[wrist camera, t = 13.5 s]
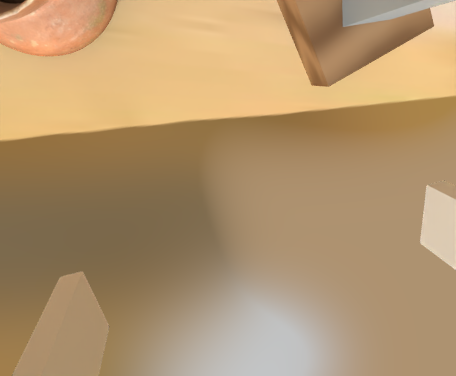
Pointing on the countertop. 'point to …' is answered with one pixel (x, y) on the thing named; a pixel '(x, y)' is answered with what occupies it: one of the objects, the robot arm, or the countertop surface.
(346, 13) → the pillar
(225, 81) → the countertop surface
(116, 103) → the countertop surface
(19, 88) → the countertop surface
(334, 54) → the walnut slab
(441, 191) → the robot arm
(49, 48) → the ceramic jug
